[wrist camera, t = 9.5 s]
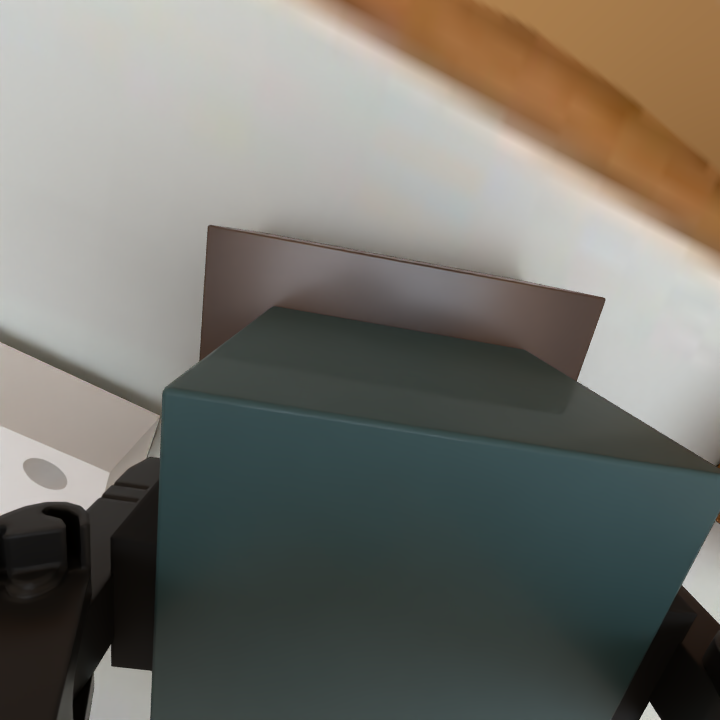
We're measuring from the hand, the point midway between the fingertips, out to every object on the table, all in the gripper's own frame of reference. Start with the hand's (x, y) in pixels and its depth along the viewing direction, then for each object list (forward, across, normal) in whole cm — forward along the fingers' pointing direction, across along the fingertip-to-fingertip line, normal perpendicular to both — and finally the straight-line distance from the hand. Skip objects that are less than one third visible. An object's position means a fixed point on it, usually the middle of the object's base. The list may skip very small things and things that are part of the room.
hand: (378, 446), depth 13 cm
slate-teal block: (0, 0, 0) cm, 0 cm away
